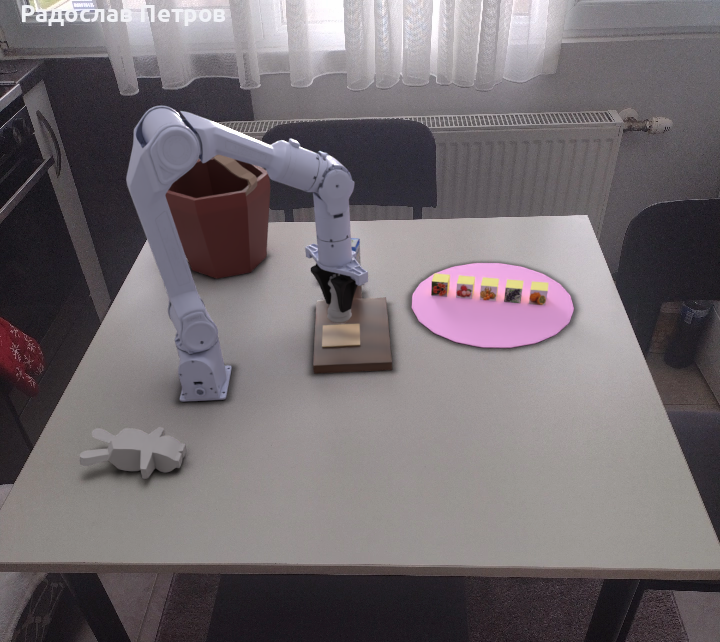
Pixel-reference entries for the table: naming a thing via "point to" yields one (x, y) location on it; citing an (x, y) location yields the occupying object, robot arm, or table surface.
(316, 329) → the cutting board
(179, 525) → the table surface
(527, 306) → the platter
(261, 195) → the bucket
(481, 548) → the table surface
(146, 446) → the bunny figurine
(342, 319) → the rook chess piece
